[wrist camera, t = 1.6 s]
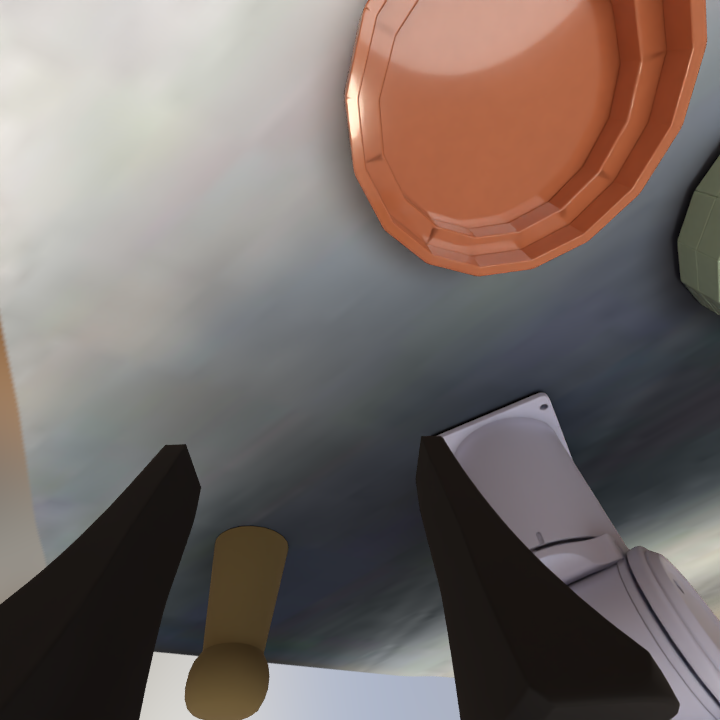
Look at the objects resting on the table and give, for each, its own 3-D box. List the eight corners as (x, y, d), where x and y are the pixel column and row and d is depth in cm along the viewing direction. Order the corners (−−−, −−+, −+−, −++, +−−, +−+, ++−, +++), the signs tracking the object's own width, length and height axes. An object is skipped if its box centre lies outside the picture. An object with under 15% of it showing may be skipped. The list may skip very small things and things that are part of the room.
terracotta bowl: (661, 166, 18) (712, 179, 15) (420, 291, 21) (431, 319, 18) (620, -221, 12) (696, -301, 9) (285, 36, 15) (275, 27, 12)
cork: (243, 516, 31) (205, 694, 22) (303, 544, 34) (291, 713, 25) (200, 549, 33) (151, 722, 24) (259, 572, 36) (235, 737, 27)
